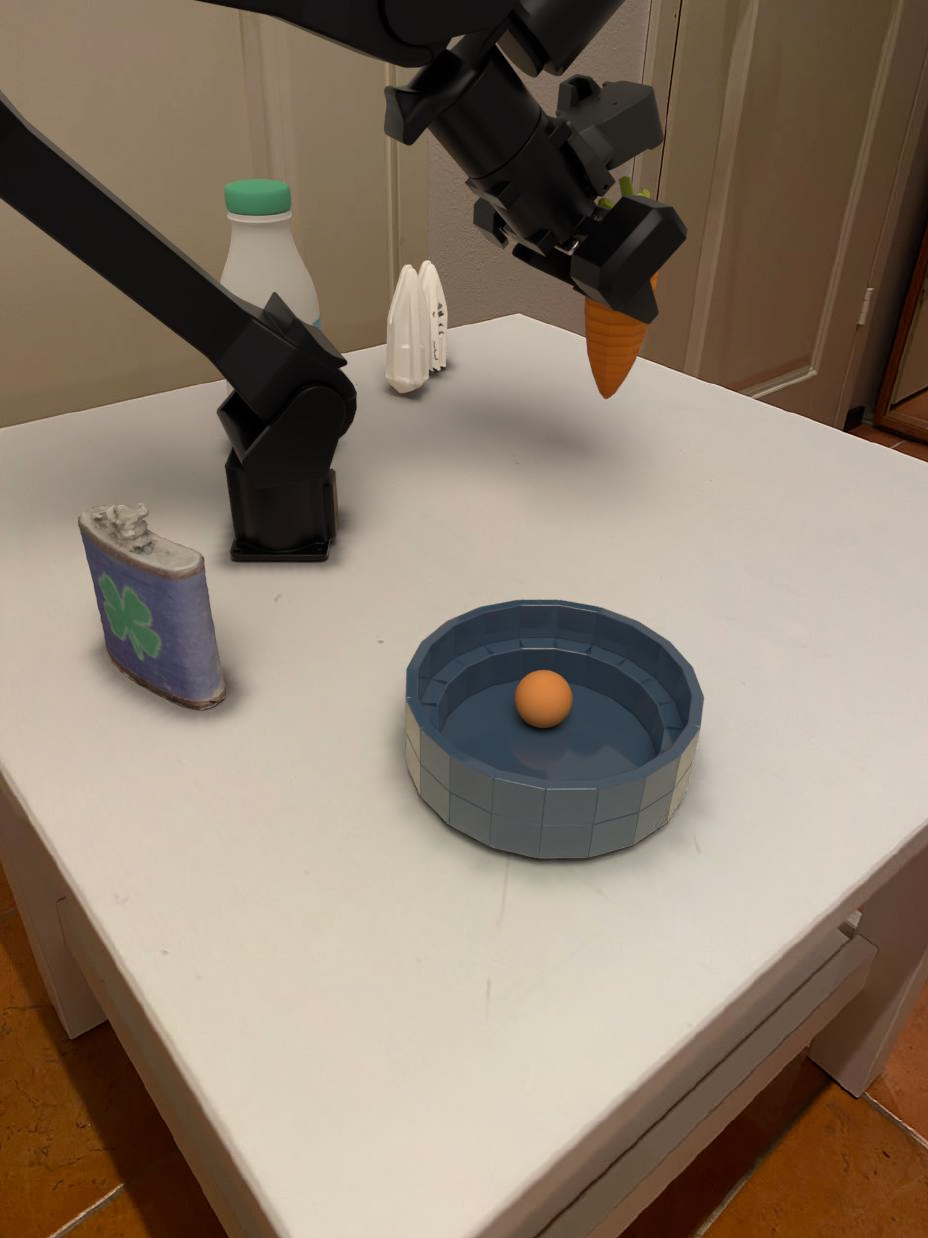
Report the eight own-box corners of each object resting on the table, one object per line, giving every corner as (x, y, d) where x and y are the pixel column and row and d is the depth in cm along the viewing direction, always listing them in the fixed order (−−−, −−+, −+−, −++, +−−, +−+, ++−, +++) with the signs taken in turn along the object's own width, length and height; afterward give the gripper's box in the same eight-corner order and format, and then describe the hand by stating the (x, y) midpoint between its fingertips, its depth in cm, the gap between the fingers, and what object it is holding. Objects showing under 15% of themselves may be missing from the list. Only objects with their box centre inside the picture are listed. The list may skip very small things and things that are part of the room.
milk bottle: (314, 470, 74) (292, 197, 62) (220, 461, 75) (182, 191, 63) (340, 430, 80) (324, 176, 68) (253, 423, 81) (224, 170, 69)
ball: (517, 727, 50) (539, 678, 51) (566, 743, 48) (588, 693, 49) (496, 705, 48) (520, 654, 48) (547, 721, 46) (571, 668, 47)
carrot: (633, 415, 67) (665, 189, 58) (566, 405, 68) (588, 182, 60) (644, 391, 71) (676, 176, 62) (580, 382, 72) (603, 170, 63)
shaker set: (421, 405, 85) (421, 280, 78) (377, 400, 85) (373, 276, 79) (452, 360, 94) (454, 245, 88) (412, 356, 95) (411, 242, 89)
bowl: (404, 869, 42) (402, 790, 39) (409, 671, 53) (408, 599, 50) (717, 865, 42) (738, 787, 39) (654, 670, 54) (667, 598, 51)
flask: (236, 694, 51) (208, 524, 45) (193, 722, 49) (158, 549, 43) (135, 630, 56) (97, 468, 50) (91, 653, 54) (47, 488, 48)
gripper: (687, 41, 48) (804, 250, 58) (522, 18, 62) (640, 190, 72) (539, 214, 50) (678, 387, 60) (411, 154, 63) (541, 303, 74)
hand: (632, 307), depth 66 cm, fingers closed on carrot, 5 cm apart
